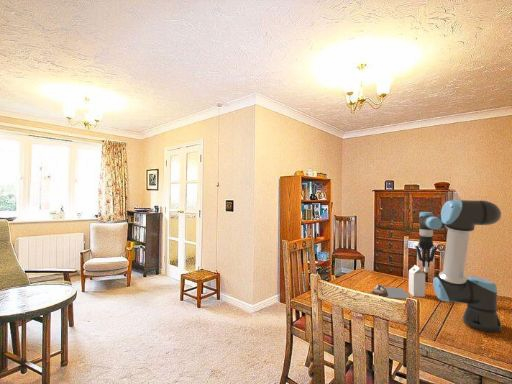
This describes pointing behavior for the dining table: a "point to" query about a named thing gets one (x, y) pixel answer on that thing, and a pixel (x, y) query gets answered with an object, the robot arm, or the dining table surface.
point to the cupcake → (380, 291)
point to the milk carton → (416, 282)
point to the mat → (397, 293)
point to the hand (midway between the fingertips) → (425, 271)
